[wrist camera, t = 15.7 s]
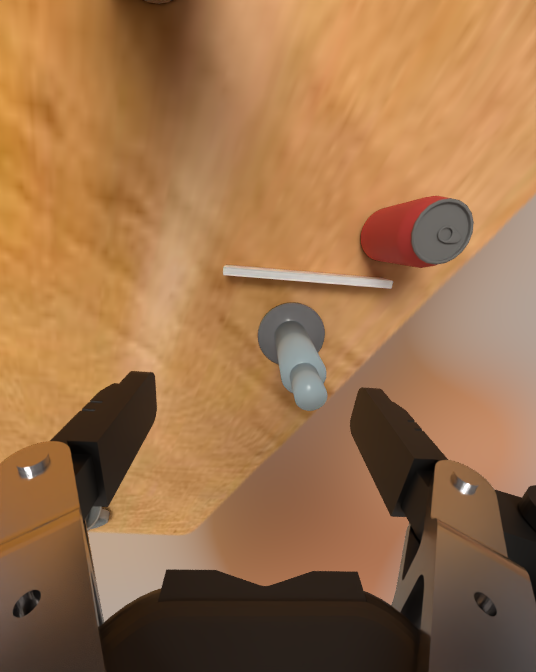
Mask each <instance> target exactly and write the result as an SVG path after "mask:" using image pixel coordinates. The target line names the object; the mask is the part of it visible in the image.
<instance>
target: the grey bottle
mask: <svg viewBox="0 0 536 672" xmlns="http://www.w3.org/2000/svg"><path fill="white" fill-rule="evenodd" d="M274 338H275V344H276V350H277V356H278V362H279V368H280V374H281V380H282V383H283V385H284V387H285V388H286V389H287V390H288V391H290V392H292V393H293V394H294V398H295V402H296V404H297V405H298V406H299V407H300V408H301V409H303V410H307V411H312V410H316V409H319V408H320V407H322V406H323V405H324V404H325V402H326V400H327V391H326V389H325V387H324V384H323V383H324V381H325V379H326V368H325V366H324V364H323V362H322V360H321V358H320V356H319V354H318V353H317V351H316V349H315V347H314V345H313V343H312V341H311V339H310V337H309V336H308V334H307V332H306V330H305V328H304V327H303V325H302V324H300V323H299V322H296V321H286V322H284V323H282V324H280V325H279V326H278V327H277V329H276V331H275V335H274Z"/></svg>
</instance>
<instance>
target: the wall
mask: <svg viewBox="0 0 536 672" xmlns="http://www.w3.org/2000/svg"><path fill="white" fill-rule="evenodd" d="M223 275H230V276H242V277H255V278H267V279H279V280H292V281H304V282H316V283H329V284H341V285H353V286H365V287H378V288H390V289H392V285H393V281H392V280H388V279H385V278H378V277H367V276H355V275H343V274H331V273H319V272H307V271H295V270H283V269H271V268H259V267H247V266H235V265H225V266H224V267H223Z"/></svg>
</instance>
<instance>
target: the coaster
mask: <svg viewBox="0 0 536 672" xmlns="http://www.w3.org/2000/svg"><path fill="white" fill-rule="evenodd" d="M286 321H296V322H299V323H300V324H302V325H303V327H304V328H305V330H306V332H307V334H308V336H309V337H310V339H311V341H312V343H313V345H314V347H315V349H316V351H317V353H318V352H319V350H320V349H321V347H322V345H323V342H324V336H325V330H324V325H323V322H322V320H321V318H320V317H319V315H318V314H317V313H316V312H315V311H314V310H313V309H311V308H310V307H308V306H306V305H304V304H300V303H285V304H281V305H279V306H276V307H275V308H273V309H272V310H270V311H269V312H268V313H267V314H266V315H265V316H264V318H263V319H262V321H261V323H260V326H259V329H258V342H259V346H260V348H261V350H262V352H263V353H264V355H265V356H266V357H267V358H268V359H270V360H271V361H272V362H274V363H276V364H279V362H278V356H277V350H276V344H275V338H274V335H275V331H276V329H277V327H278V326H279V325H280V324H282V323H284V322H286Z"/></svg>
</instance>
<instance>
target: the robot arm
mask: <svg viewBox="0 0 536 672" xmlns="http://www.w3.org/2000/svg"><path fill="white" fill-rule="evenodd" d="M144 1H146V2H150V3H157V4H159V3H167V2H169V1H171V0H144ZM156 411H157V402H156V385H155V375H154V373H152V372H139V371H131V372H130V373H129V374H128V375H127V376H126V377H125V378H124V379H123V380H122V381H121V382H120V383H119V384H116V383H114V384H112V385H110V386H108V387H106V388H105V389H103V390H101V391H100V392H99V393H98V394H97V395H96V396H95V397H94V398H93V399H91V400H90V403H89V402H88V403H87V404H86V405H85V406H84V407H83V408H82V411H79V412H78V413H77V414H76V415H75V416H74V417H73V418H72V419H71V420H70V421H69V422H68V423H67V424H66V425H65V426H64V427H63V428H62V429H61V430H60V431H59V432H58V433H57V434H56V435H55V436H54V437H53V438H52V439H51V440H50V441H48V442H41V443H37V444H34V445H31V446H28V447H26V448H23V449H21V450H19V451H17V452H15V453H14V454H12V455H11V456H9V457H8V458H6V459H5V460H4V461H3V462H2V463H1V464H0V672H536V485H535V486H530V487H529V488H528V489H527V491H526V492H525V494H524V496H523V497H522V498H521V497H518V496H514V495H511V494H508V493H504V492H501V491H498V490H494V488H493V487H492V486H491V484H490V483H489V482H488V481H487V480H486V479H485V478H484V477H482V476H481V475H480V474H479V473H477V472H476V471H475V470H473V469H471V468H469V467H468V466H466V465H464V464H461V463H459V462H455V461H451V460H448V459H447V458H446V457H445V456H444V454H443V453H442V452H441V451H440V450H439V449H438V447H437V446H436V445H435V444H434V443H433V442H432V440H431V439H430V438H429V437H428V436H427V435H426V434H425V432H424V431H422V429H421V428H420V426H419V425H418V424H417V423H415V422H414V419H413V418H412V417H411V416H410V415H409V414H408V412H407V411H406V410H404V409H403V408H401V407H400V406H399V405H397V404H396V403H394V402H392V401H391V400H390V399H389V398H388V396H387V395H386V394H385V393H384V392H383V390H381V389H376V388H360V389H359V391H358V394H357V397H356V401H355V405H354V409H353V412H352V416H351V420H350V429H351V434H352V436H353V438H354V441H355V442H356V445H357V446H358V449H359V451H360V453H361V455H362V457H363V459H364V461H365V463H366V466H367V468H368V470H369V472H370V474H371V476H372V478H373V480H374V482H375V484H376V486H377V488H378V490H379V492H380V495H381V496H382V498H383V501H384V503H385V505H386V507H387V509H388V511H389V513H390V515H391V516H393V517H407V519H408V521H409V526H408V528H407V531H406V536H405V542H404V548H403V553H402V559H401V565H400V571H399V577H398V582H397V587H396V592H395V596H394V599H393V602H392V605H389V604H388V603H386V602H385V601H383V600H382V599H380V598H378V597H376V596H374V595H372V594H370V593H368V592H365V591H363V588H362V585H361V581H360V578H359V575H358V572H339V571H338V572H337V571H336V572H335V571H312V572H309V573H306V574H303V575H300V576H297V577H294V578H291V579H288V580H285V581H282V582H279V583H276V584H273V585H270V586H260V585H257V584H254V583H251V582H249V581H246V580H243V579H240V578H237V577H234V576H231V575H228V574H225V573H222V572H220V571H217V570H166V574H165V577H164V581H163V585H162V588H161V589H158V590H155V591H152V592H150V593H148V594H146V595H143V596H141V597H139V598H137V599H136V600H134V601H132V602H131V603H129V604H127V605H126V606H124V607H123V608H122V609H120V610H119V611H118V612H116V613H115V614H114V615H112V616H111V617H110V618H109V619H108V620H107V621H105V622H104V619H103V614H102V609H101V604H100V599H99V593H98V588H97V583H96V577H95V571H94V566H93V560H92V554H91V549H90V544H89V537H88V532H87V526H86V521H85V518H86V517H87V515H88V513H89V512H90V510H91V508H92V507H93V506H95V507H108V506H109V504H110V502H111V500H112V499H113V497H114V495H115V493H116V491H117V489H118V488H119V486H120V484H121V482H122V480H123V478H124V477H125V475H126V473H127V471H128V469H129V467H130V465H131V464H132V462H133V460H134V458H135V456H136V454H137V453H138V451H139V449H140V447H141V445H142V443H143V442H144V440H145V438H146V436H147V434H148V432H149V431H150V429H151V427H152V425H153V423H154V420H155V417H156Z"/></svg>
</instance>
